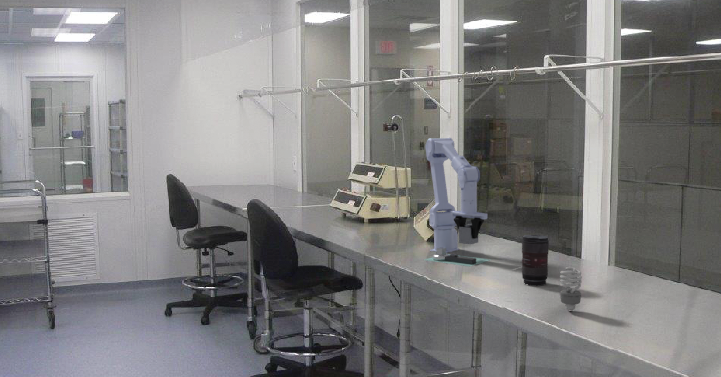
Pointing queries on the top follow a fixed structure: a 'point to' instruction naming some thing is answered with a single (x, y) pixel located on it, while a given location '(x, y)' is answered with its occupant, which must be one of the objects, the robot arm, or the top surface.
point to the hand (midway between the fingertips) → (468, 237)
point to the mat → (478, 261)
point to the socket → (466, 234)
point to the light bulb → (570, 295)
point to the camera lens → (535, 259)
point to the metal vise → (452, 257)
